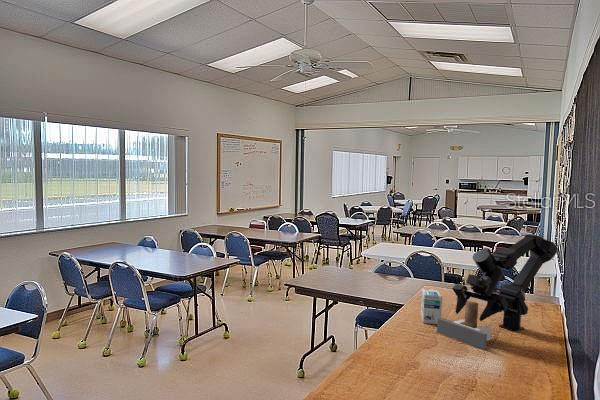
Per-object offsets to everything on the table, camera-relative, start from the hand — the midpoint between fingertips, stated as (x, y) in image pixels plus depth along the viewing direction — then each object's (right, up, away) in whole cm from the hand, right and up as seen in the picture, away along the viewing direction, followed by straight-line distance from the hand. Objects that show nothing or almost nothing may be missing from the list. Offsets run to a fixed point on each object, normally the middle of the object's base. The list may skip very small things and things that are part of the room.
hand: (467, 316), depth 156 cm
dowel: (+1, -8, +1) cm, 8 cm away
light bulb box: (-7, -7, +20) cm, 22 cm away
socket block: (+1, -8, +2) cm, 8 cm away
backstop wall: (-3, -8, -2) cm, 8 cm away
